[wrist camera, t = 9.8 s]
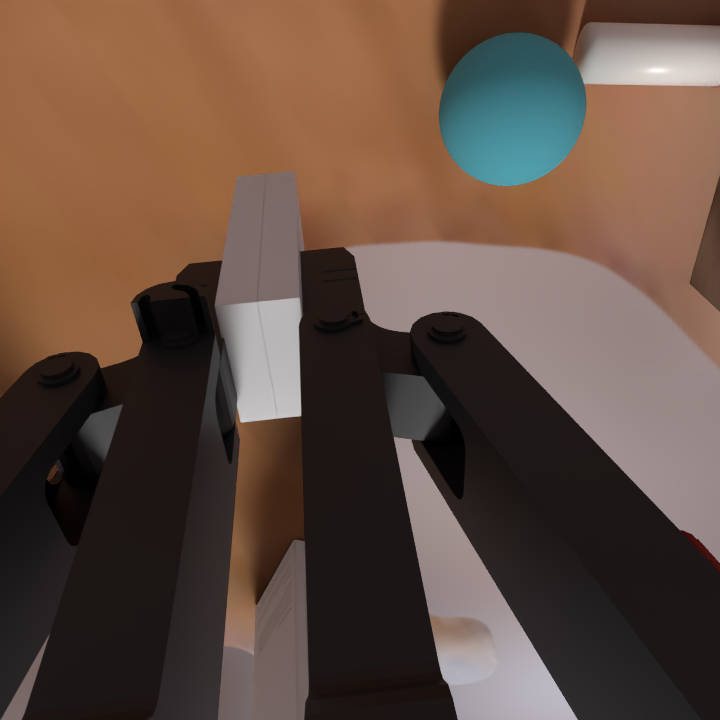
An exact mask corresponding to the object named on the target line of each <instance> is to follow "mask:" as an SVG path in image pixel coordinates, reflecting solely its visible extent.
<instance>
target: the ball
mask: <svg viewBox="0 0 720 720" xmlns="http://www.w3.org/2000/svg"><path fill="white" fill-rule="evenodd" d="M585 111H586V93H585V87H584V83H583V79H582V77H581V74H580V71H579V69H578V68H577V66H576V64H575V63H574V61H573V59H572V58H571V57H570V56H569V55H568V53H567V52H566V51H564V50H563V49H562V48H561V47H560V46H559V45H557V44H556V43H554V42H553V41H551V40H549V39H547V38H545V37H542V36H539V35H535V34H531V33H523V32H516V33H506V34H502V35H497V36H495V37H492V38H490V39H487V40H485V41H483V42H482V43H480V44H478V45H477V46H475V47H474V48H473V49H471V50H470V51H469V52H468V53H467V54H466V55H465V56H464V57H463V58H462V59H461V60H460V61H459V62H458V63H457V65H456V66H455V67H454V69H453V71H452V72H451V74H450V75H449V77H448V79H447V81H446V84H445V86H444V89H443V92H442V96H441V101H440V108H439V123H440V131H441V135H442V138H443V141H444V144H445V146H446V148H447V150H448V152H449V154H450V156H451V157H452V158H453V160H454V161H455V162H456V163H457V164H458V165H459V166H460V168H461V169H462V170H464V171H465V172H466V173H468V174H469V175H471V176H472V177H474V178H476V179H478V180H480V181H483V182H485V183H489V184H493V185H500V186H513V185H519V184H524V183H528V182H531V181H534V180H536V179H538V178H540V177H542V176H544V175H546V174H547V173H549V172H550V171H551V170H553V169H554V168H555V167H557V166H558V165H559V164H560V163H561V162H562V161H563V160H564V159H565V157H566V156H567V155H568V154H569V152H570V151H571V150H572V148H573V146H574V145H575V143H576V141H577V139H578V137H579V135H580V132H581V130H582V127H583V123H584V119H585Z"/></svg>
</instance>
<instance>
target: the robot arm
mask: <svg viewBox="0 0 720 720" xmlns="http://www.w3.org/2000/svg"><path fill="white" fill-rule="evenodd" d="M131 306H132V309H133V313H134V316H135V319H136V322H137V325H138V328H139V332H140V335H141V338H142V341H143V343H142V346H141V349H140V352H139V356H137V357H135V358H133V359H130V360H127V361H124V362H121V363H118V364H114V365H111V366H108V367H104V368H100V366H99V363H98V360H97V358H95V357H94V356H92V355H91V354H89V353H83V352H67V353H66V352H65V353H59V354H57V355H52V356H49V357H47V358H46V359H44V360H42V361H40V362H38V363H36V364H34V365H33V366H32V367H30V368H29V369H28V370H27V371H25V372H24V373H23V374H22V375H21V377H20V378H19V379H18V380H17V381H16V382H15V383H14V384H13V385H12V386H11V387H10V388H9V389H8V391H7V392H6V393H5V394H4V395H3V396H2V397H1V398H0V720H1V719H2V717H3V715H4V713H5V711H6V710H7V708H8V706H9V704H10V703H11V701H12V699H13V697H14V696H15V694H16V692H17V690H18V689H19V687H20V685H21V683H22V682H23V680H24V678H25V676H26V674H27V673H28V671H29V669H30V667H31V666H32V664H33V662H34V660H35V659H36V657H37V655H38V653H39V652H40V650H41V648H42V646H43V645H44V643H45V641H46V639H47V637H48V636H49V638H48V641H47V644H46V647H45V650H44V654H43V657H42V660H41V663H40V666H39V669H38V672H37V676H36V679H35V682H34V685H33V688H32V691H31V694H30V698H29V701H28V704H27V707H26V710H25V713H24V715H23V718H22V720H218V707H219V695H220V682H221V670H222V658H223V657H222V656H223V645H224V633H225V620H226V607H227V595H228V582H229V570H230V557H231V544H232V532H233V519H234V507H235V494H236V481H237V469H238V456H239V444H240V439H239V434H238V430H237V425H236V421H235V419H236V408H238V412H239V417H240V421H241V422H250V421H259V420H268V419H277V418H287V417H296V416H301V425H302V461H303V496H304V531H305V567H306V602H307V638H308V673H309V691H308V697H307V699H306V701H305V714H304V720H458V719H457V715H456V711H455V707H454V702H453V698H452V695H451V692H450V689H449V686H448V684H447V683H446V681H445V680H444V679H443V677H442V674H441V671H440V666H439V662H438V657H437V652H436V647H435V642H434V637H433V632H432V627H431V622H430V617H429V612H428V607H427V603H426V597H425V592H424V588H423V582H422V577H421V572H420V567H419V562H418V558H417V552H416V547H415V543H414V537H413V532H412V527H411V522H410V517H409V513H408V508H407V502H406V497H405V492H404V487H403V483H402V477H401V472H400V467H399V462H398V458H397V453H396V447H395V443H394V437H398V438H406V439H412V443H413V447H414V450H415V451H416V453H417V455H418V456H419V458H420V460H421V461H422V463H423V465H424V466H425V468H426V470H427V471H428V473H429V474H430V476H431V478H432V479H433V481H434V483H435V484H436V486H437V488H438V489H439V491H440V492H441V494H442V496H443V498H444V499H445V501H446V503H447V504H448V506H449V508H450V509H451V511H452V512H453V514H454V516H455V517H456V519H457V521H458V522H459V524H460V526H461V527H462V529H463V531H464V532H465V534H466V535H467V537H468V539H469V541H470V542H471V544H472V546H473V547H474V549H475V550H476V552H477V553H478V555H479V557H480V558H481V560H482V562H483V564H484V565H485V567H486V569H487V570H488V572H489V574H490V575H491V577H492V578H493V580H494V582H495V583H496V585H497V587H498V588H499V590H500V592H501V593H502V595H503V597H504V598H505V600H506V602H507V603H508V605H509V607H510V608H511V610H512V611H513V613H514V615H515V617H516V618H517V620H518V621H519V623H520V625H521V626H522V628H523V630H524V631H525V633H526V635H527V636H528V638H529V639H530V641H531V643H532V645H533V646H534V648H535V650H536V651H537V653H538V655H539V656H540V658H541V659H542V661H543V663H544V664H545V666H546V668H547V669H548V671H549V673H550V674H551V676H552V678H553V679H554V681H555V683H556V684H557V686H558V687H559V689H560V691H561V692H562V694H563V696H564V697H565V699H566V701H567V702H568V704H569V706H570V707H571V709H572V710H573V712H574V714H575V715H576V717H577V719H578V720H720V572H719V571H718V570H717V569H716V568H715V567H714V566H713V564H712V563H711V562H710V561H709V560H708V559H707V558H706V557H705V556H704V555H703V554H702V553H701V552H700V551H699V550H698V549H697V548H696V547H695V546H694V545H693V544H692V543H691V542H690V540H689V539H688V538H687V537H686V536H685V535H684V534H683V533H682V532H681V531H680V530H679V529H678V528H677V527H676V526H675V525H674V524H673V523H672V522H671V521H670V520H669V519H668V518H667V517H666V516H665V514H664V513H663V512H662V511H661V510H660V509H659V508H658V507H657V506H656V505H655V504H654V503H653V502H652V501H651V500H650V499H649V498H648V497H647V496H646V495H645V494H644V493H643V491H642V490H641V489H640V488H639V487H638V486H637V485H636V484H635V483H634V482H633V481H632V480H631V479H630V478H629V477H628V476H627V475H626V474H625V473H624V472H623V471H622V470H621V469H620V467H619V466H618V465H617V464H616V463H614V461H613V460H612V459H611V458H610V457H609V456H608V455H607V454H606V453H605V452H604V451H603V450H602V449H601V448H600V447H599V446H598V445H597V444H596V442H594V440H593V439H592V438H591V437H590V436H589V435H588V434H587V433H586V432H585V431H584V430H583V429H582V428H581V427H580V426H579V425H578V424H577V423H576V422H575V421H574V420H573V419H572V417H570V415H569V414H568V413H567V412H566V411H565V410H564V409H563V408H562V407H561V406H560V405H559V404H558V403H557V402H556V401H555V400H554V399H553V398H552V397H551V396H550V394H549V393H548V392H547V391H546V390H545V389H544V388H543V387H542V386H541V385H540V384H539V383H538V382H537V381H536V380H535V379H534V378H533V377H532V376H531V375H530V374H529V373H528V372H527V371H526V369H524V368H523V366H522V365H521V364H520V363H518V361H517V360H516V359H515V358H514V357H513V356H512V355H511V354H510V353H509V352H508V351H507V350H506V349H505V348H504V347H503V346H502V344H501V343H500V342H499V341H498V340H497V339H496V338H495V337H494V336H493V335H492V334H491V333H490V332H489V331H488V330H487V329H486V328H485V327H484V326H483V325H482V324H481V323H480V322H479V321H477V320H476V319H474V318H473V317H471V316H468V315H465V314H461V313H457V312H439V313H432V314H429V315H426V316H424V317H421V318H420V319H418V320H417V321H416V322H415V323H414V324H413V325H412V328H411V331H410V333H408V332H398V331H392V330H387V329H384V328H381V327H379V326H377V325H375V324H374V323H372V322H371V321H370V318H369V316H368V315H367V313H366V312H365V309H364V304H363V298H362V293H361V288H360V283H359V279H358V273H357V268H356V263H355V258H354V256H353V255H352V254H351V253H350V252H348V251H347V250H346V249H345V248H344V247H340V248H329V249H319V250H309V251H304V244H303V235H302V227H301V219H300V211H299V203H298V194H297V186H296V178H295V171H292V172H281V173H270V174H259V175H248V176H237V180H236V186H235V191H234V197H233V203H232V209H231V214H230V220H229V226H228V232H227V237H226V243H225V249H224V255H223V260H222V261H213V262H202V263H192V264H189V265H188V266H186V267H185V268H184V269H183V270H182V271H181V272H180V273H179V274H178V275H177V277H176V281H173V282H167V283H162V284H158V285H156V286H153V287H150V288H148V289H146V290H144V291H143V292H141V293H140V294H138V295H136V297H135V298H134V299H133V301H132V302H131ZM54 464H55V465H56V467H57V469H58V471H57V472H56V474H55V475H54V477H53V478H52V479H51V480H50V481H48V480H47V477H48V475H49V472H50V470H51V469H52V467H53V466H54ZM49 634H50V635H49Z"/></svg>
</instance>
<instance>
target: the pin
mask: <svg viewBox="0 0 720 720" xmlns="http://www.w3.org/2000/svg"><path fill="white" fill-rule="evenodd" d="M573 61H574V63H575V64H576V66H577V68H578V69H579V71H580V74H581V77H582V79H583V83H584V84H618V85H675V86H710V87H719V88H720V26H716V25H679V24H642V23H605V22H589V23H587V24H586V25H585V26H584V27H583V29H582V30H581V32H580V34H579V37H578V40H577V43H576V47H575V52H574V60H573Z"/></svg>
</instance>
